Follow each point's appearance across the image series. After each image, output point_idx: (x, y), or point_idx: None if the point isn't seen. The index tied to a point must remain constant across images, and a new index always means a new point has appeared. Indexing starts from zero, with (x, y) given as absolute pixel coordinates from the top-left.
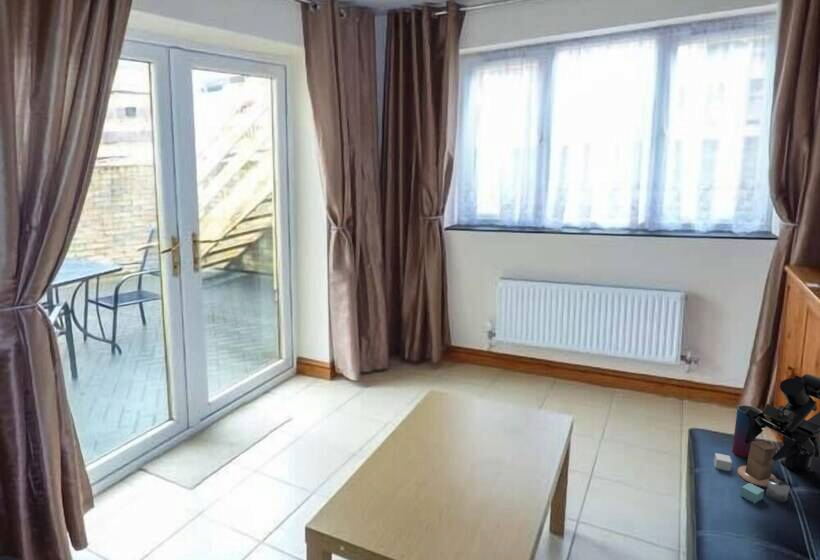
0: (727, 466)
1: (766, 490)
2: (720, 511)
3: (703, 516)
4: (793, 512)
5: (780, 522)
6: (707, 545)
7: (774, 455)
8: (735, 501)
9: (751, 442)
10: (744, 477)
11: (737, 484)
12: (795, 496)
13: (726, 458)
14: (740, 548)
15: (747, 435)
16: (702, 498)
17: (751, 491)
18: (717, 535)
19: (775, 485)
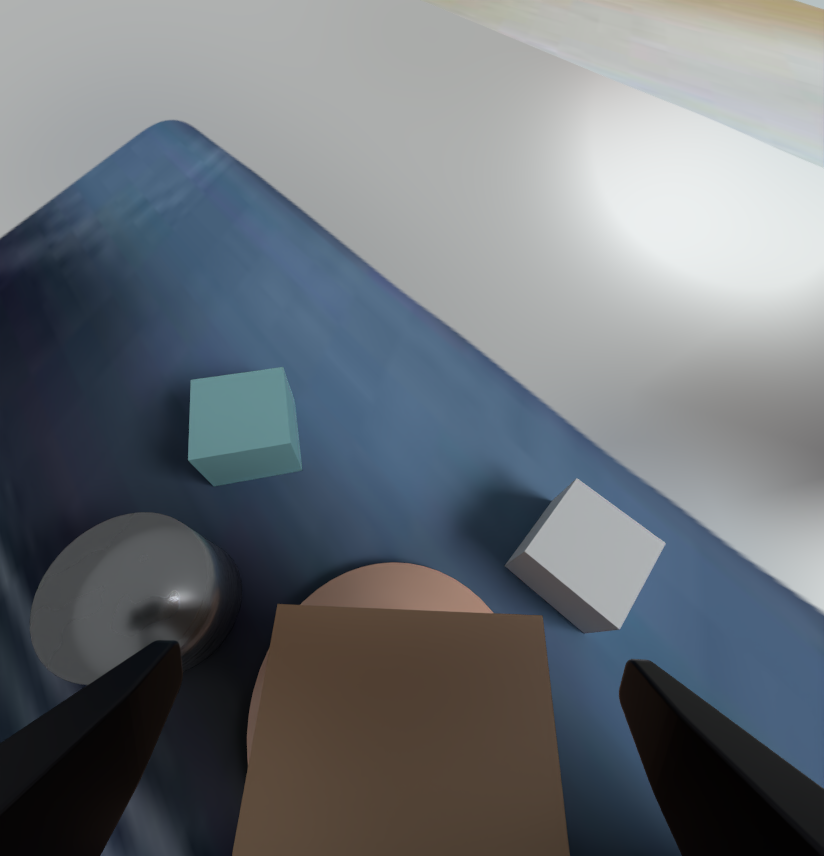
0: (525, 542)
1: (224, 553)
2: (263, 253)
3: (275, 197)
4: (28, 546)
5: (56, 395)
6: (182, 130)
7: (138, 669)
8: (275, 347)
9: (534, 617)
10: (400, 564)
11: (374, 477)
12: None
13: (583, 561)
14: (109, 176)
15: (749, 746)
16: (353, 258)
17: (226, 377)
18: (189, 170)
19: (128, 530)
